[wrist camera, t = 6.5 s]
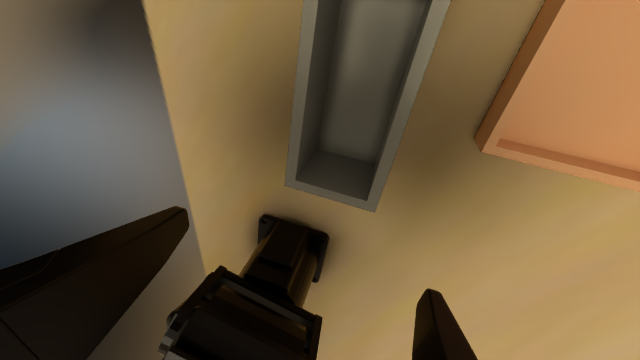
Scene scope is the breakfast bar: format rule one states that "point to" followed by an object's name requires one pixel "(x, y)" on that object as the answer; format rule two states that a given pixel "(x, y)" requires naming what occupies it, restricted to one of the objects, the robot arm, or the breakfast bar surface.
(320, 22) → the box
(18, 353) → the robot arm
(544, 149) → the tray
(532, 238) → the breakfast bar surface
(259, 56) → the breakfast bar surface
